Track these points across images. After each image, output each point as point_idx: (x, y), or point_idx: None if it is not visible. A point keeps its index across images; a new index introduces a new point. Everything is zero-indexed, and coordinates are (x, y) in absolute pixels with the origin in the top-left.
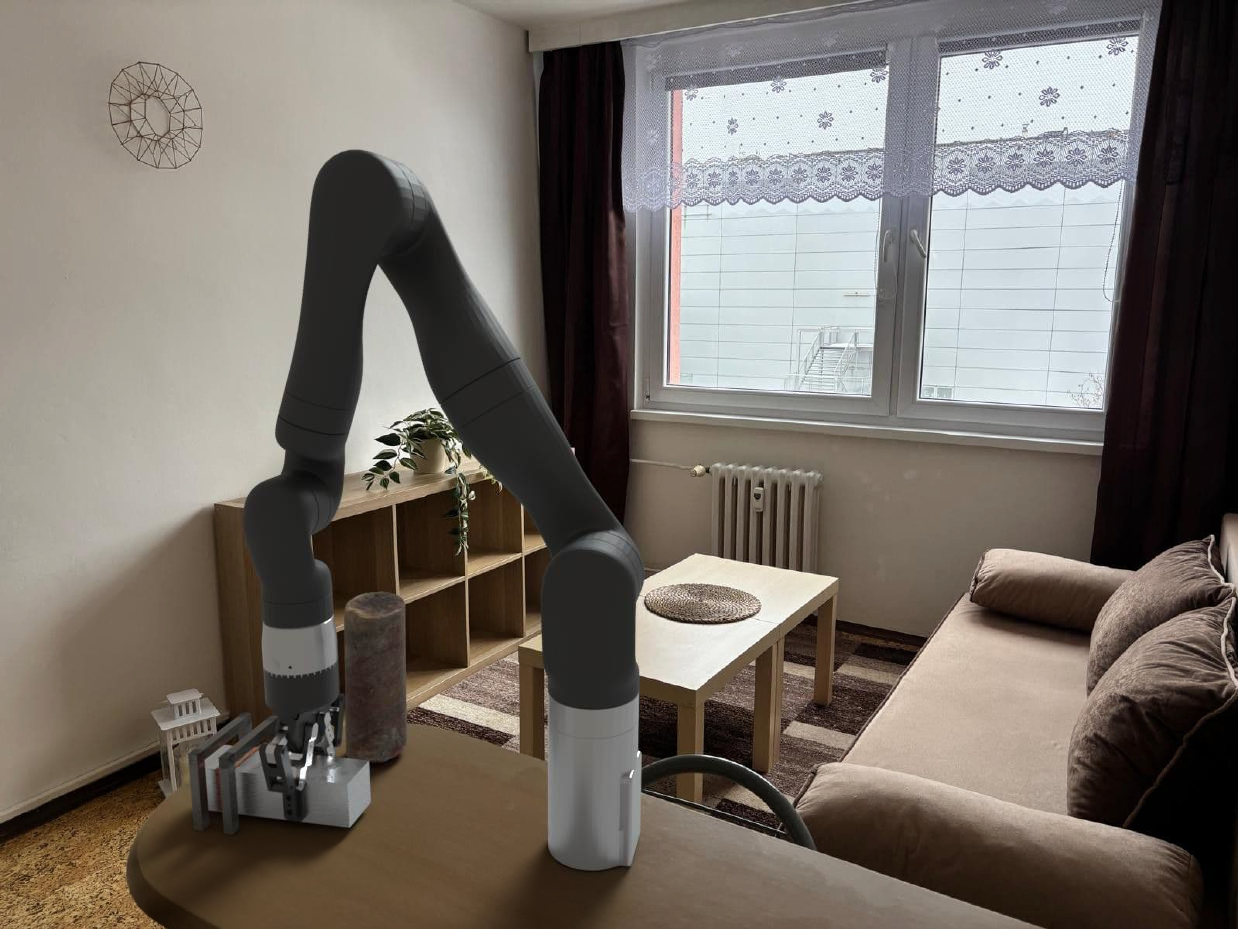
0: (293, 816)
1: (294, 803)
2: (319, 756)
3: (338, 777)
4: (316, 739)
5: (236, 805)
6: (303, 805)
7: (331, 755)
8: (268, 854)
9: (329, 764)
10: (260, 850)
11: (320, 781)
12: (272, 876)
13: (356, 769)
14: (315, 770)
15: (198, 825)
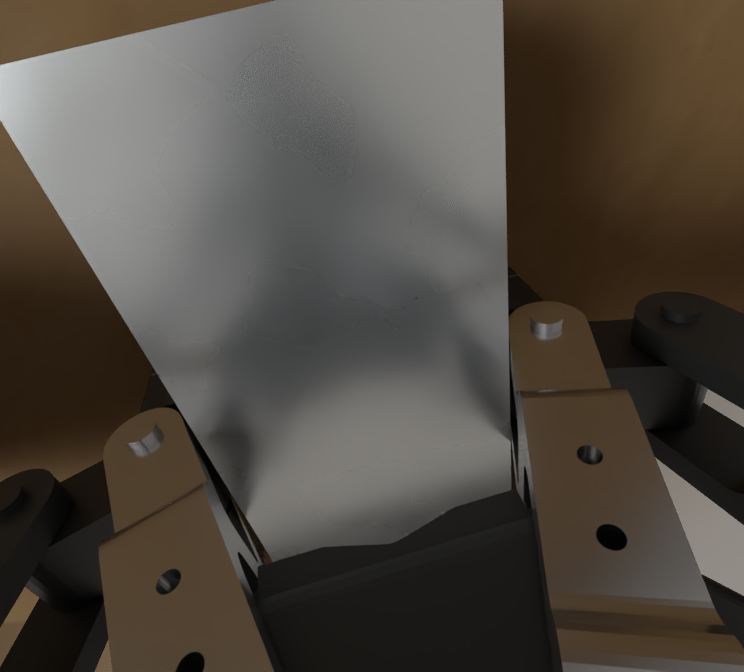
0: None
1: (525, 288)
2: (233, 465)
3: (418, 143)
4: (372, 599)
5: (511, 460)
6: None
7: (155, 430)
8: (573, 228)
9: (281, 350)
10: (557, 268)
11: (503, 239)
12: (694, 114)
13: (218, 71)
14: (389, 368)
15: None
